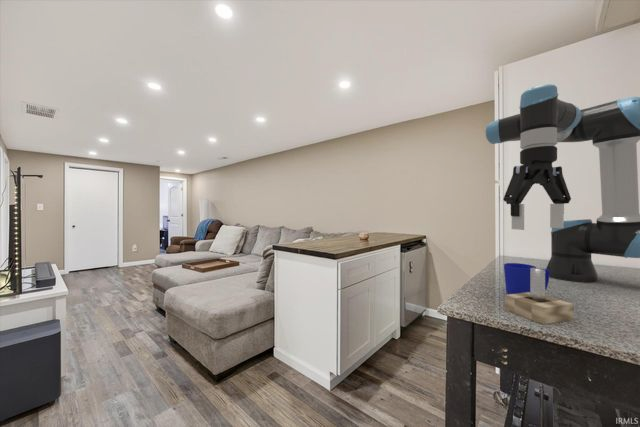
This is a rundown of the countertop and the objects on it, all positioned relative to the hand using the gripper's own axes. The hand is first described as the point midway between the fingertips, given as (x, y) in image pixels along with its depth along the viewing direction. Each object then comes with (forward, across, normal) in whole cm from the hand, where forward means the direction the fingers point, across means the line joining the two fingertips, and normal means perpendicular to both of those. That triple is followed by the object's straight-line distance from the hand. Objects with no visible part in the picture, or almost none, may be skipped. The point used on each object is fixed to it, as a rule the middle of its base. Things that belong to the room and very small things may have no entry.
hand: (537, 228), depth 69 cm
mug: (+23, -10, -11) cm, 27 cm away
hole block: (+23, 0, 0) cm, 23 cm away
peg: (+23, 0, 0) cm, 23 cm away
